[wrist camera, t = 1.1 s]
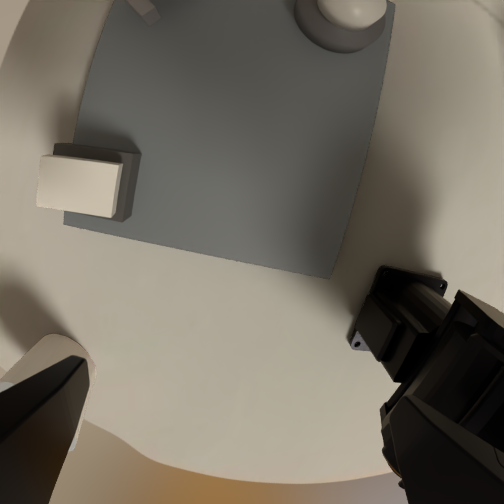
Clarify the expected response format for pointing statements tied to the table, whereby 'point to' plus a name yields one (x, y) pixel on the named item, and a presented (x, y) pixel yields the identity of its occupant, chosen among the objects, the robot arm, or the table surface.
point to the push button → (352, 12)
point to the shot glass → (45, 356)
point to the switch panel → (232, 126)
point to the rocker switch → (78, 185)
